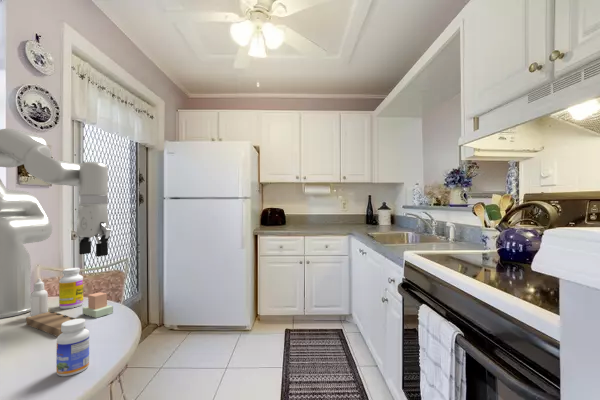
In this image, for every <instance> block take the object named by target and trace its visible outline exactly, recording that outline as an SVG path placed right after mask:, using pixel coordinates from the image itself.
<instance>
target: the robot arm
mask: <svg viewBox="0 0 600 400" xmlns="http://www.w3.org/2000/svg"><path fill="white" fill-rule="evenodd" d="M52 155H53V153H52V150H51V148H50V147H49V145H48V143H47V141H46V140H45V139H44V138H43V137H42V136H41V135H38V134H35V133H32V132H27V131H24V130H19V129H13V128H2V129H1V128H0V167H1V168H16V167H19V166H22V165H23V166H24V168H25V170H26V172H27V173H28V174H30V175H31V176H33V177H35V178H37V179H38V180H40V181H42V182H44V183H47V184H49V185H50V184H51V185H57V186H69V187H78V189H79V190H78V192H79V193H78V211H77V219H76V220H77V222H76V236H77V237H78V242H79V251H78V253H79V254H80V255H88V254H91V253H92V240H91V238H95V240H96V244H95V257H106V256H108V255H109V254H108V253H109V252H108V251H109V250H108V249H109V242H110V241H109V239H110V237H111V236H110V235H111V232H112V230H111V228H110V227H109V215H108V214H109V213H108V200H109V199H108V192H109V191H108V190H109V189H108V188H109V187H108V186H109V184H108V183H109V182H108V181H109V178H108V177H109V176H108V175H109V171H108V169H109V168H108V165H106V164H105V163H102V162H96V161H85V162H82V163H77V162H71V161H65V160H64V161H63V160H59V159H55V158H52ZM52 233H53V225H52V222H51V220H50V218H49V216H48V215H47V212H46V211H45V210H44V208H43V206H42V203H41V202H40V201H39V199H38V197H36V196H35V195H34V194H33V193H30V192H29V191H24V190H12V189H8V188H7V187H6V186H5V185H4V182H3V181H2V179H1V178H0V319H3V318H9V317H15V316H20V315H23V314H26V313H29V312H30V313H31V293H32V292H31V291H32V290H31V289H32V285H31V283H32V282H31V278H32V277H31V255H30V253H29V252H30V251H28V250H27V248H26V246H25V244H33V243H39V242H44V241H46V240H49V238H50V237H51V235H52Z"/></svg>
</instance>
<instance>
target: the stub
mask: <svg viewBox="0 0 600 400" xmlns="http://www.w3.org/2000/svg"><path fill="white" fill-rule="evenodd" d="M87 297H88V298H87V300H88V303H87V306H84V307H83V306H82V309H81V310H82V315H84V314H85V315H86V316H88V315H89V316H88V317H91V316H92V317H91V318H95V319H96V318H101V317H103V316H107V315H110V314H113V313H114V306H113V305H111V304H110V305H109V304H108V293H106V292H101V291H100V292H95V293H91V294H88V295H87ZM85 315H84V316H85Z"/></svg>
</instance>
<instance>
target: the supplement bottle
mask: <svg viewBox="0 0 600 400" xmlns="http://www.w3.org/2000/svg"><path fill="white" fill-rule="evenodd" d="M80 272H81V269H80V267H69V268H65V269H63V270H62V274H63V276H62V277H60V278H59V280H58V287H59V288H58V293H59V294H58V296H59V297H58V305H59V309H61V310H68V309H74V307H75V308H79V307H81V306H82V305H84V276H83V275H81V274H80Z"/></svg>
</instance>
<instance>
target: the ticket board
mask: <svg viewBox="0 0 600 400" xmlns="http://www.w3.org/2000/svg"><path fill="white" fill-rule="evenodd" d="M73 319H77V318H75V317H73V316H69V315H65V314H62V313H59V312H55V311H52V310H51V311H48V312H46V313H42V314H39V315H35V316H31V315H30V316H27V317H26V319H25V320H26V325H27V326H29V327H32V328H34V329H37V330H40V331H42V332H45V333H47V334H50V335H52V336H55V337H58V336H59V335H60V334H62V333H63V332H61V325H62V323H64V322H66V321H69V320H73ZM84 329H86V327H85V328H84Z"/></svg>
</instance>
